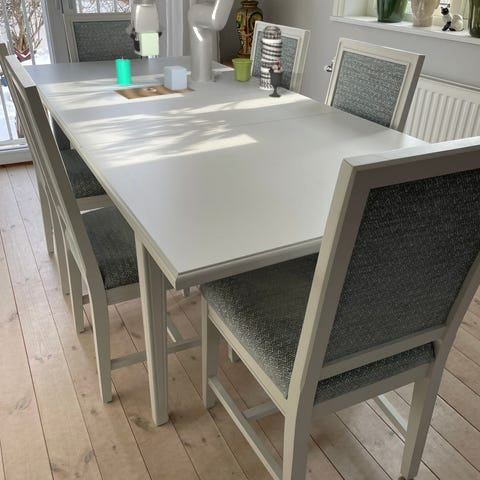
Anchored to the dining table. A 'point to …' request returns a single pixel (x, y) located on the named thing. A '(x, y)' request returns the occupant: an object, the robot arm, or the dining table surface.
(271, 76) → the sundae
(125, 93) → the board
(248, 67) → the plant pot
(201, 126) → the dining table surface
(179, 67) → the blue cover
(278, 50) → the decorative candle
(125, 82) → the candle
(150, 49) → the pale green block
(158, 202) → the dining table surface
